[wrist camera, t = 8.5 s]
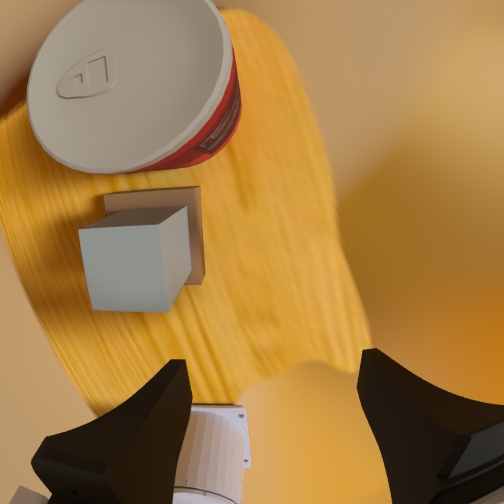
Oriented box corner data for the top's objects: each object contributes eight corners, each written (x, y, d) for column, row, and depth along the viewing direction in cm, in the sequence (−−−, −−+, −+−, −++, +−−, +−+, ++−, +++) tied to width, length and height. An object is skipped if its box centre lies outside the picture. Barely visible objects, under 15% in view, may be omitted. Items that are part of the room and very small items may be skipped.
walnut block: (206, 271, 22) (200, 284, 20) (127, 272, 22) (114, 284, 20) (201, 185, 21) (194, 188, 18) (118, 191, 21) (103, 195, 18)
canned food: (109, 96, 18) (8, 58, 8) (212, 40, 18) (178, -55, 7) (154, 190, 20) (65, 218, 10) (262, 135, 19) (273, 101, 9)
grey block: (191, 269, 20) (168, 312, 14) (132, 270, 20) (92, 310, 14) (186, 205, 19) (158, 224, 13) (125, 209, 19) (78, 229, 13)
